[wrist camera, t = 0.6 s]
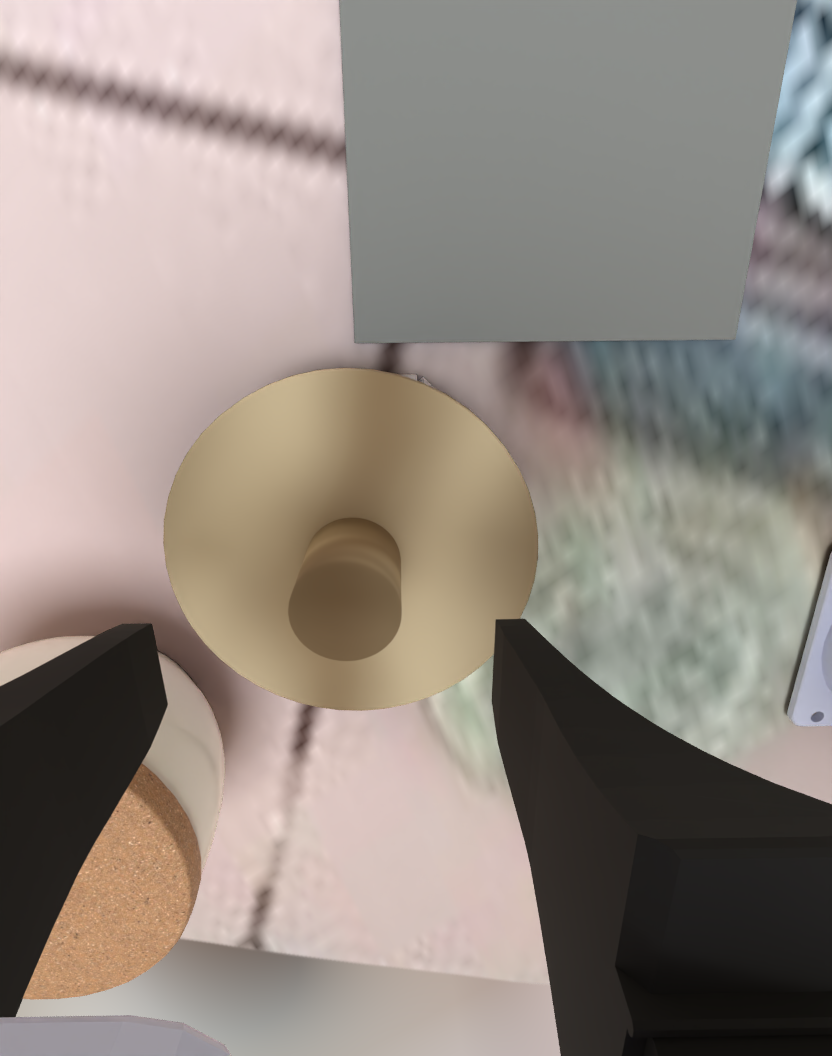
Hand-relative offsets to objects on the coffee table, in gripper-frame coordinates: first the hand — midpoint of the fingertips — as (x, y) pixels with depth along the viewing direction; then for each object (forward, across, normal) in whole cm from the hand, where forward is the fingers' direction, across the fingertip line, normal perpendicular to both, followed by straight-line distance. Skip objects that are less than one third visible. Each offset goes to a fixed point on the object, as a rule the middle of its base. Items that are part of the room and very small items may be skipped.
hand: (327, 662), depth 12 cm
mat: (+9, -6, -12) cm, 16 cm away
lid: (+6, 0, 0) cm, 6 cm away
